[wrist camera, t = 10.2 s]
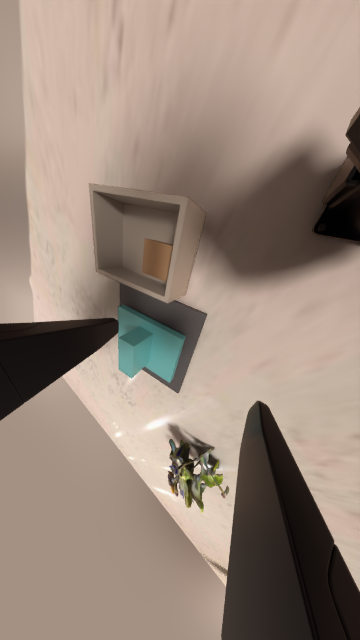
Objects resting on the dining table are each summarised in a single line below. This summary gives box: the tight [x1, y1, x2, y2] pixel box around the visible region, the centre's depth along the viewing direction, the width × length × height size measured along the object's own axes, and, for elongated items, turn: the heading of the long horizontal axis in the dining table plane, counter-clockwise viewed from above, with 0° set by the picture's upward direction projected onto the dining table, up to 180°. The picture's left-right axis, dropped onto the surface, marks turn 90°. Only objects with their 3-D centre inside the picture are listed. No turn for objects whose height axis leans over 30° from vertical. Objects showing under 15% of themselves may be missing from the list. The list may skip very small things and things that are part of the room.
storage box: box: [89, 183, 206, 303], centre depth 18 cm, size 13×10×5 cm
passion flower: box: [168, 439, 229, 513], centre depth 30 cm, size 11×11×12 cm
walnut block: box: [142, 239, 173, 282], centre depth 18 cm, size 4×4×3 cm
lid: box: [118, 304, 186, 383], centre depth 24 cm, size 13×10×6 cm
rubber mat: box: [120, 283, 207, 393], centre depth 27 cm, size 17×19×1 cm
